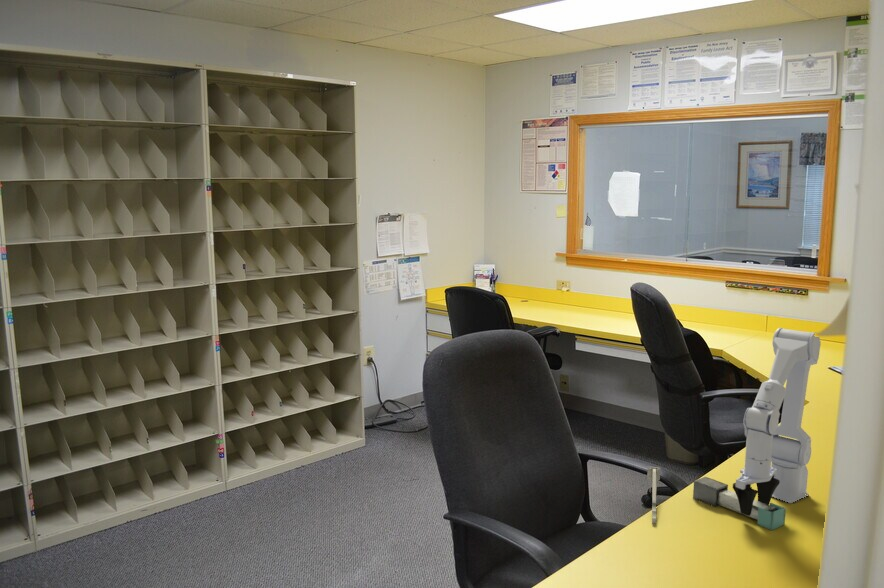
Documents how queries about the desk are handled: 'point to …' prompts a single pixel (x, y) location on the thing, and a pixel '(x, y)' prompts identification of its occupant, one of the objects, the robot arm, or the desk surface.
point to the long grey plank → (731, 502)
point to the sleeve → (708, 490)
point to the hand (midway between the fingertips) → (754, 510)
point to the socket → (771, 517)
